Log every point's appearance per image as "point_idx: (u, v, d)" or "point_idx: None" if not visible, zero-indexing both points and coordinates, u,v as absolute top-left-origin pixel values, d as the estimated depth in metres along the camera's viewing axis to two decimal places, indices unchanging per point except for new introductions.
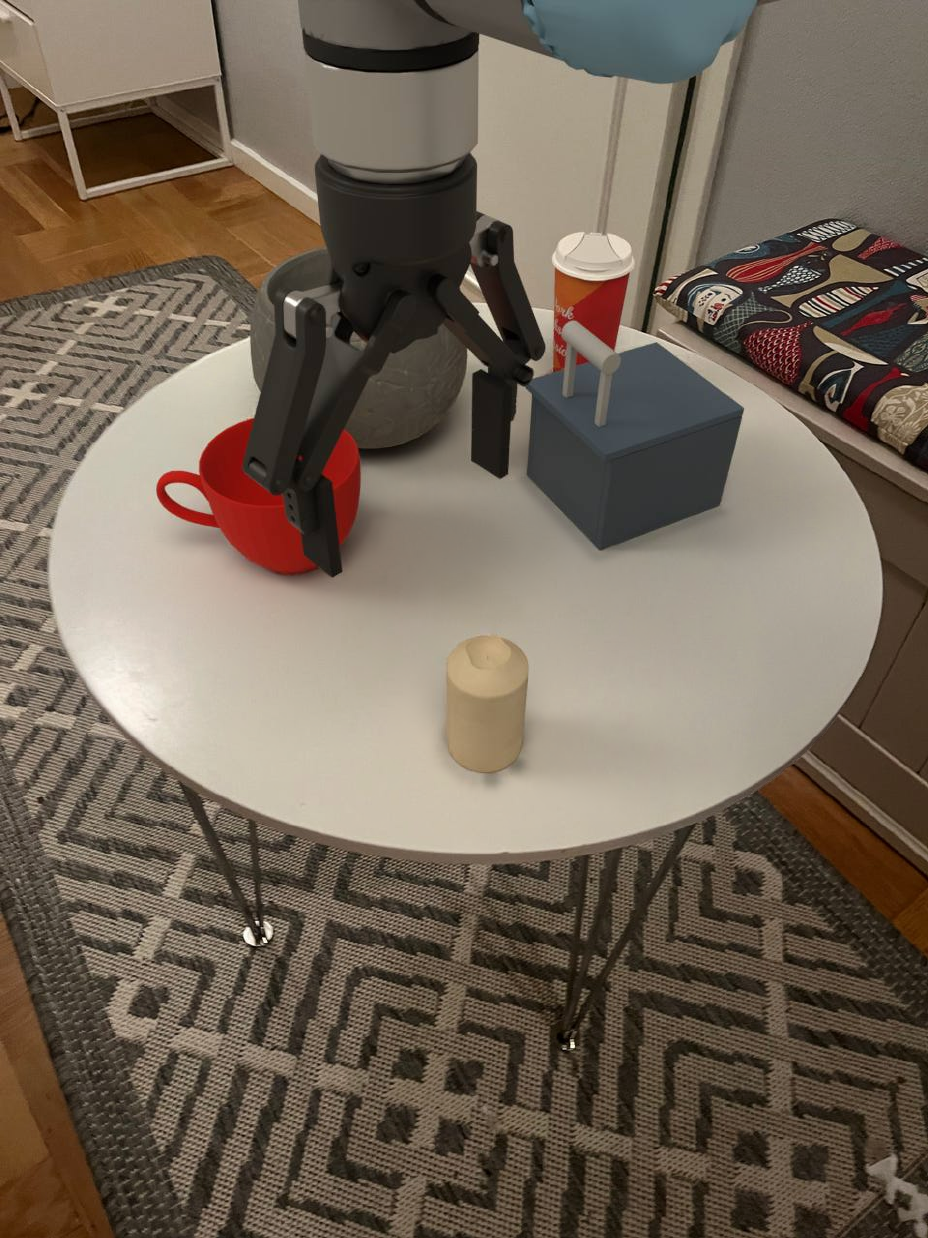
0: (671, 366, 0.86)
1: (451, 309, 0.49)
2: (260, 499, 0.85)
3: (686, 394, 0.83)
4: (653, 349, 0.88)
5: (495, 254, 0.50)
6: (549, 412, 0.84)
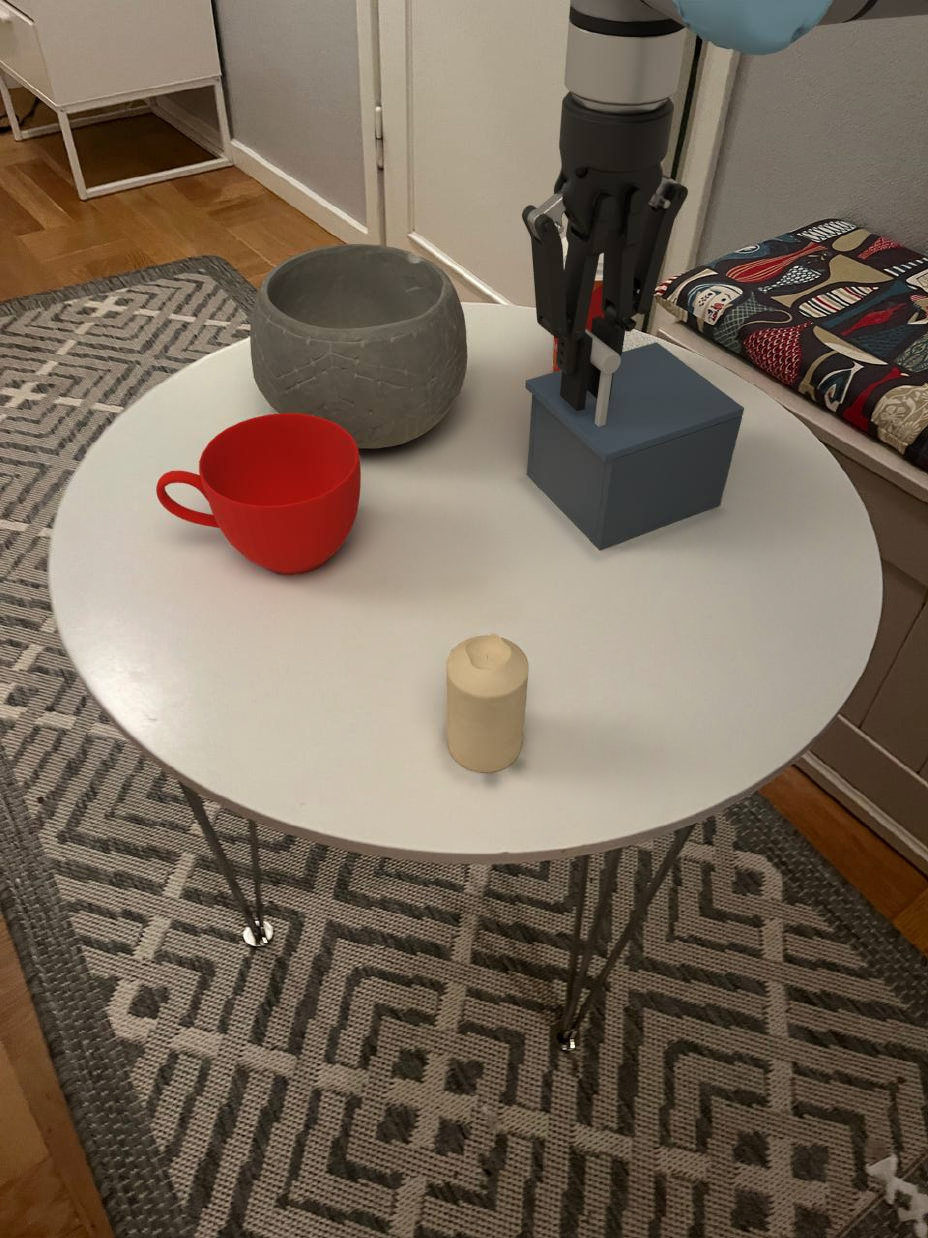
0: (671, 366, 0.86)
1: (630, 218, 0.69)
2: (260, 499, 0.85)
3: (686, 394, 0.83)
4: (653, 349, 0.88)
5: (669, 201, 0.70)
6: (549, 412, 0.84)
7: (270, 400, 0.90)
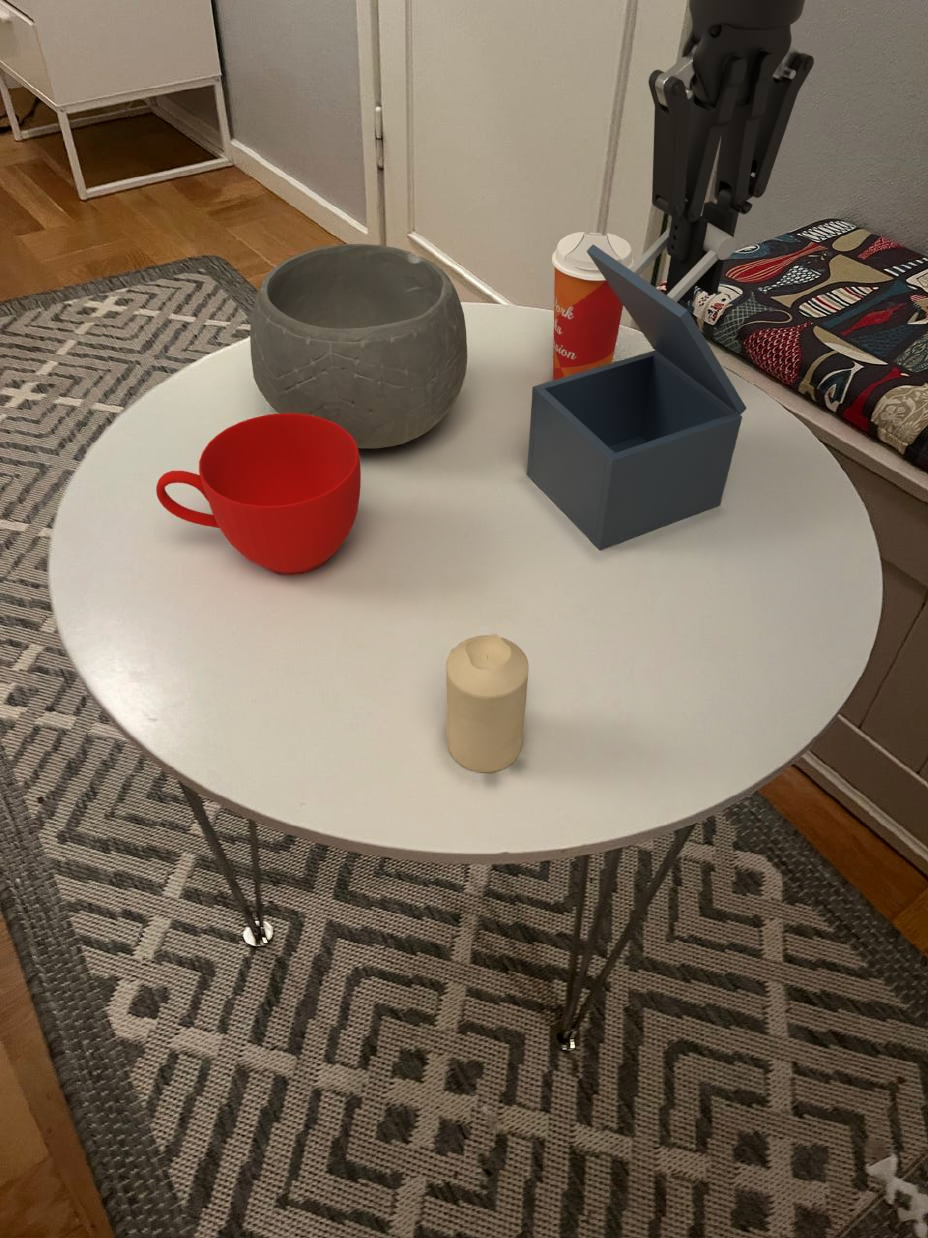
0: None
1: (757, 86, 0.67)
2: (260, 499, 0.85)
3: None
4: None
5: (795, 71, 0.68)
6: (549, 412, 0.84)
7: (270, 400, 0.90)
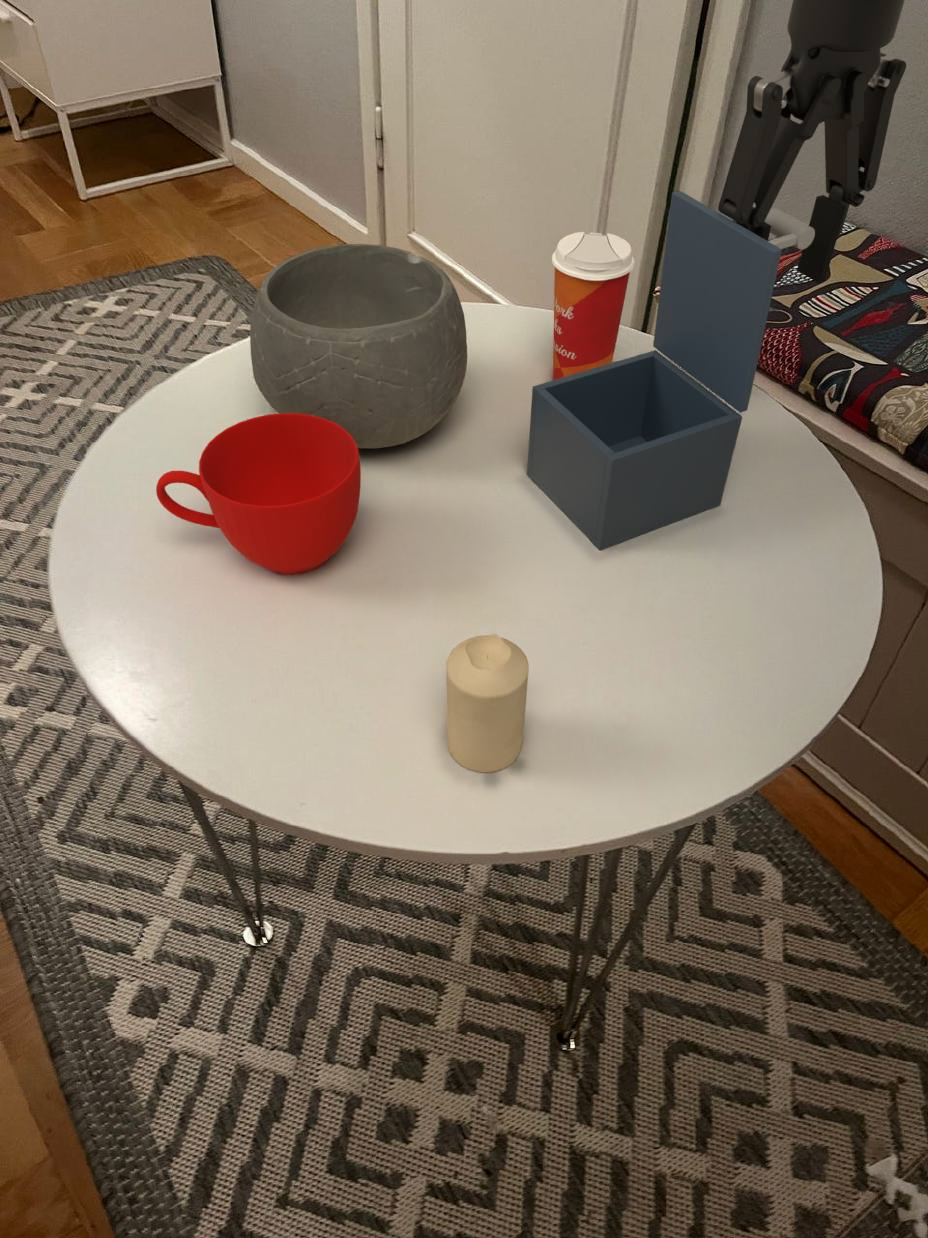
0: None
1: (853, 102, 0.72)
2: (260, 499, 0.85)
3: None
4: None
5: (888, 79, 0.73)
6: (549, 412, 0.84)
7: (270, 400, 0.90)
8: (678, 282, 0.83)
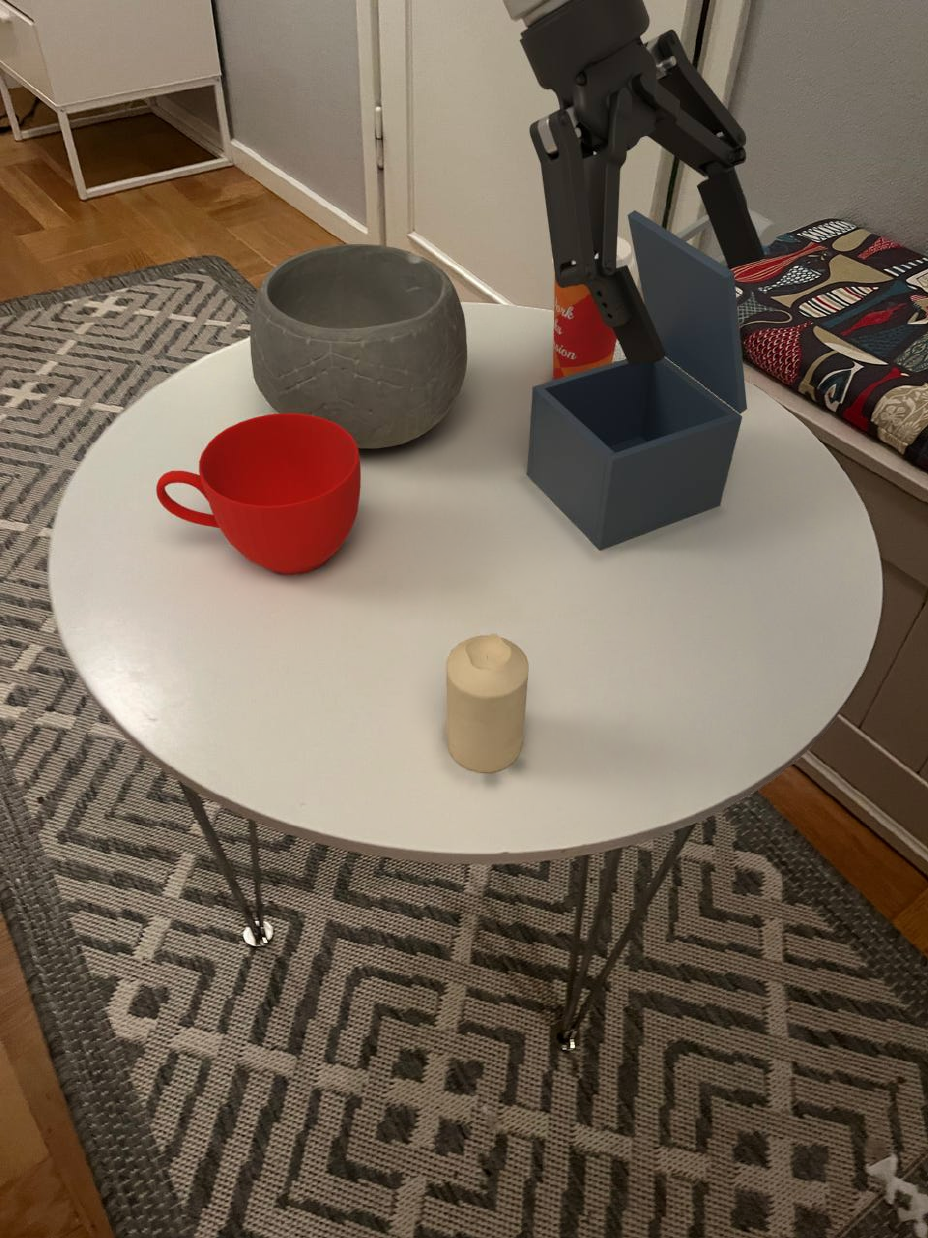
0: None
1: (658, 99, 0.61)
2: (260, 499, 0.85)
3: None
4: None
5: (672, 56, 0.62)
6: (549, 412, 0.84)
7: (270, 400, 0.90)
8: (656, 294, 0.82)
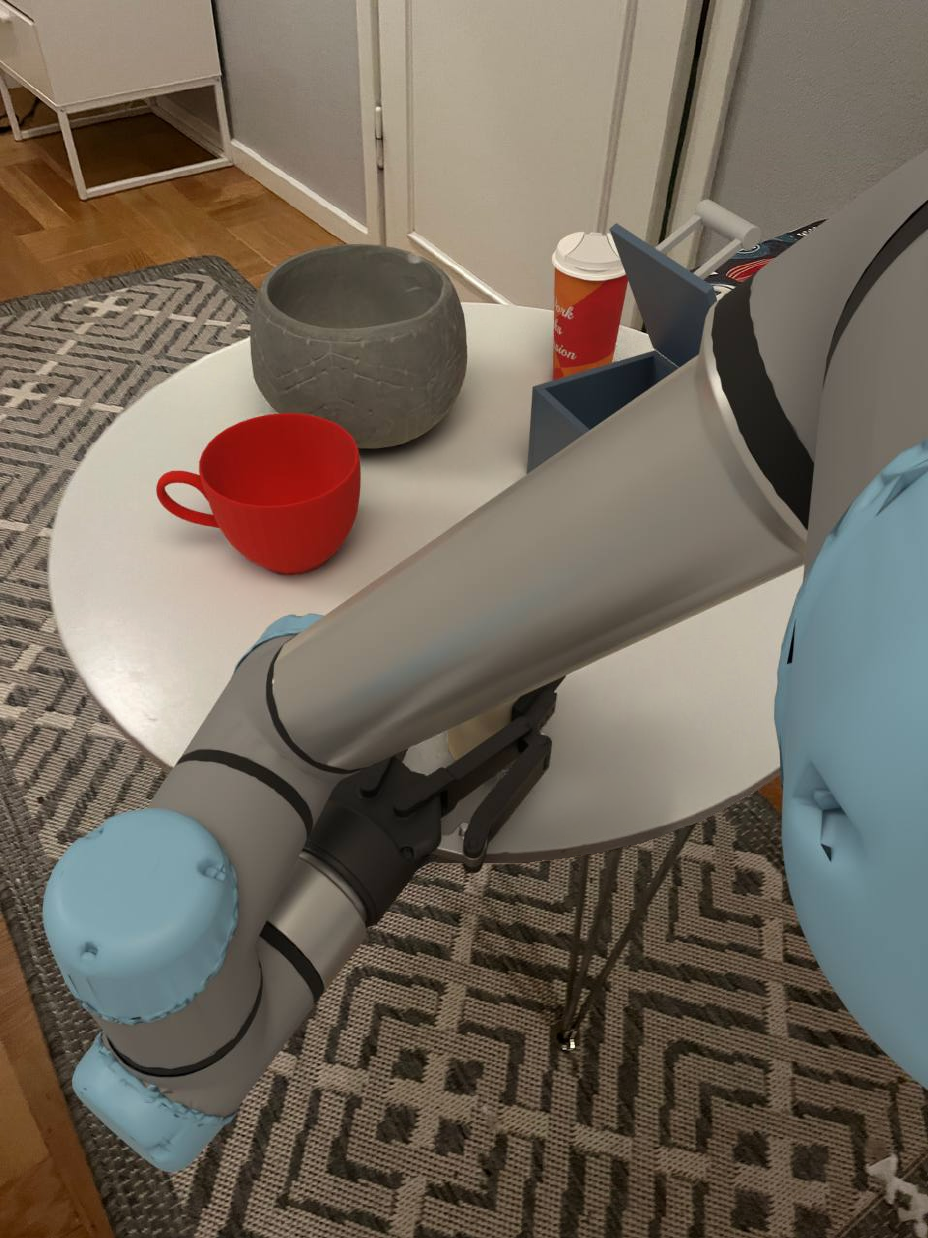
0: None
1: (383, 767, 0.59)
2: (260, 499, 0.85)
3: None
4: None
5: None
6: (549, 412, 0.84)
7: (270, 400, 0.90)
8: (647, 301, 0.82)
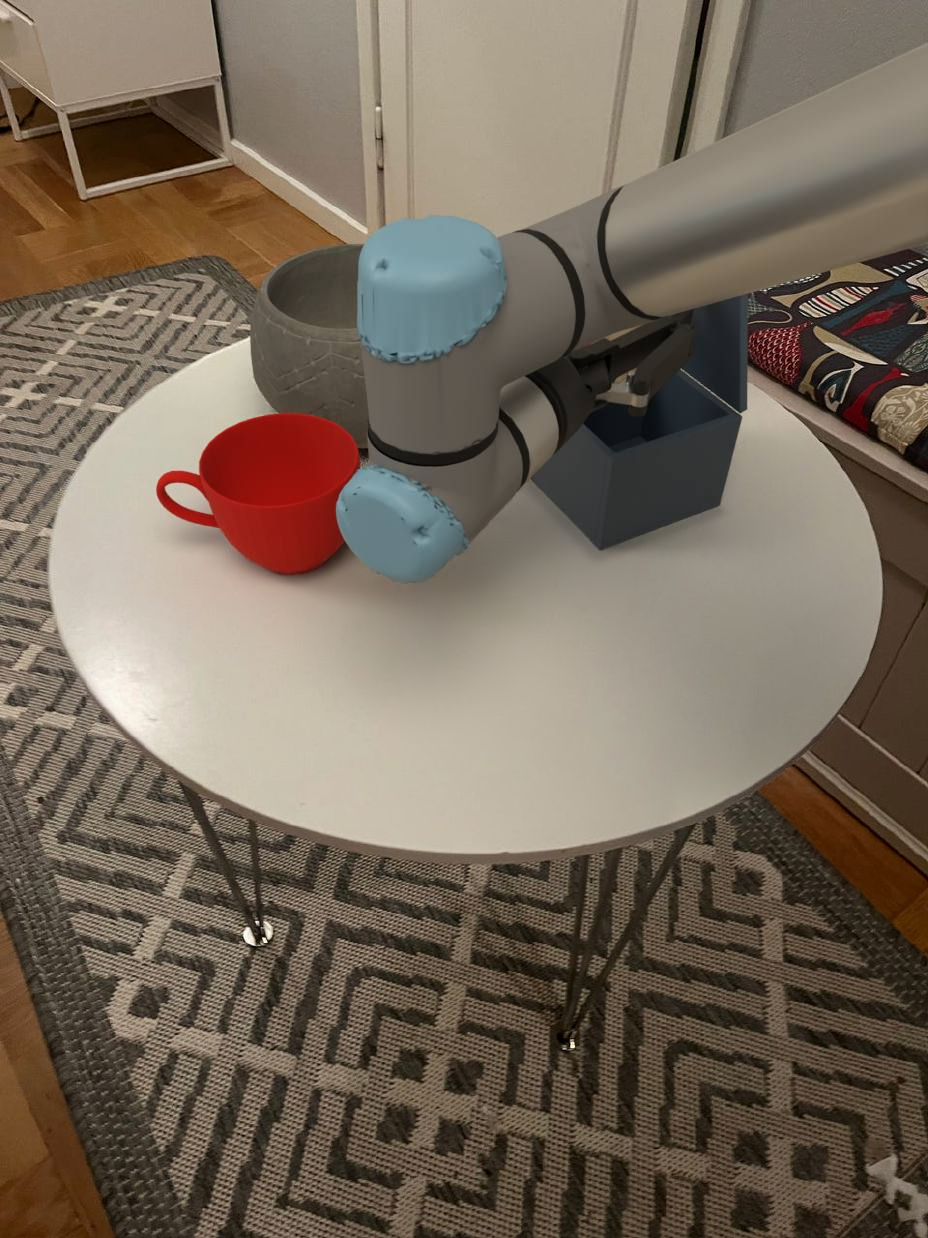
0: None
1: None
2: (260, 499, 0.85)
3: None
4: None
5: None
6: None
7: (270, 400, 0.90)
8: None
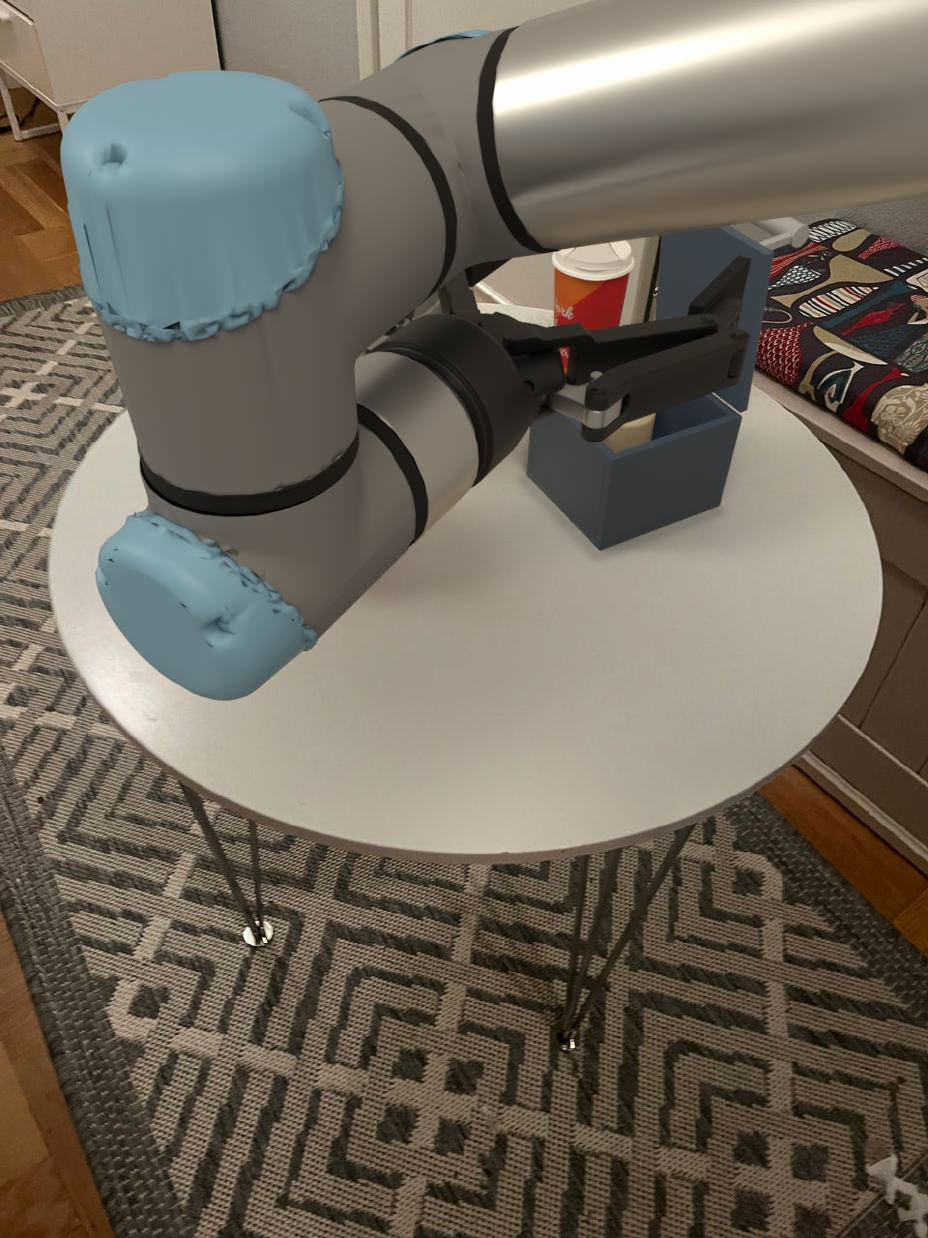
0: None
1: (474, 308, 0.46)
2: None
3: None
4: None
5: None
6: None
7: None
8: (674, 284, 0.83)
